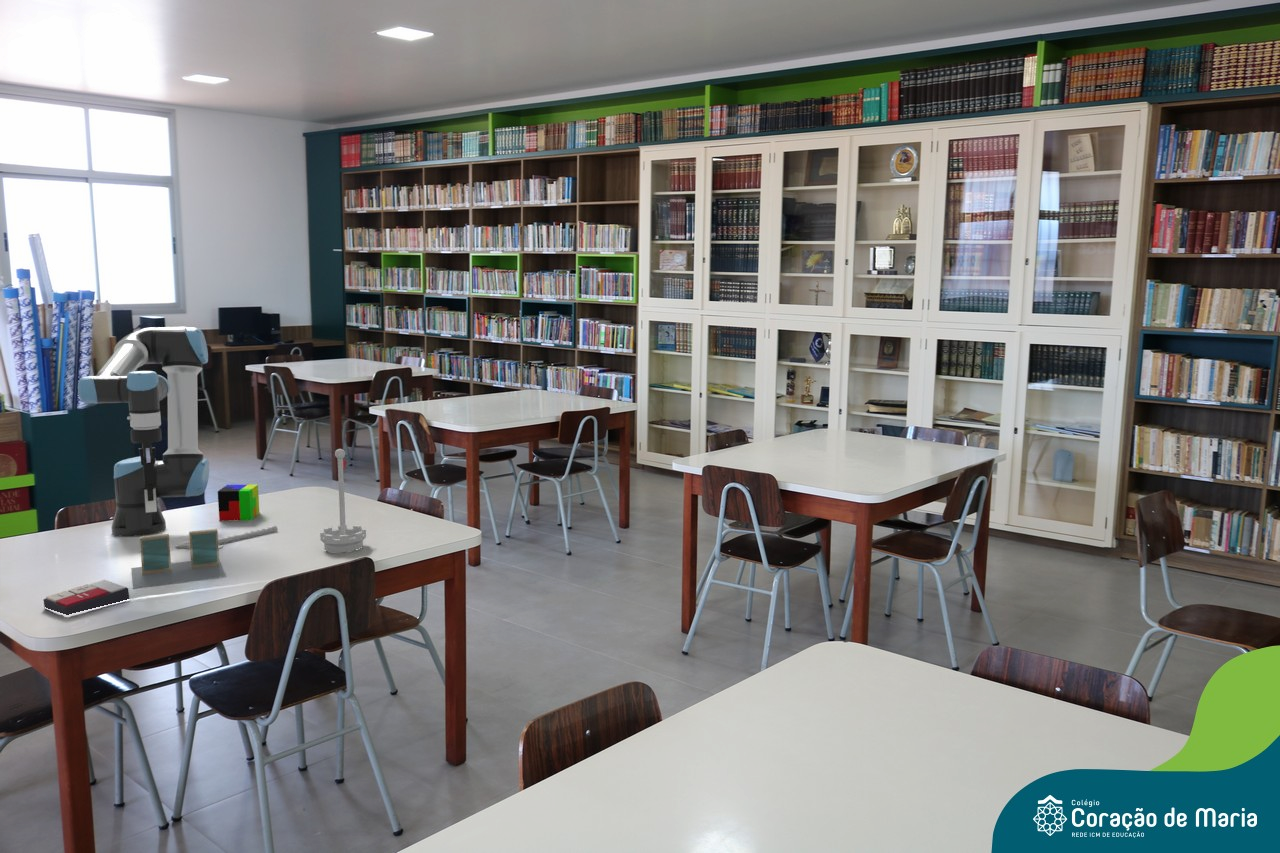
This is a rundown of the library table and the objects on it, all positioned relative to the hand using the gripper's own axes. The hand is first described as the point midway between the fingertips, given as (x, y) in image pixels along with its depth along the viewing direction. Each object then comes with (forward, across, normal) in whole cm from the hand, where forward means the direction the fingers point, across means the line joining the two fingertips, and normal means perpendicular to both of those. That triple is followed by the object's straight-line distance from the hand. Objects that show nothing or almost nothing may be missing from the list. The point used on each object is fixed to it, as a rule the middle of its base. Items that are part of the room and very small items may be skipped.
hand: (151, 511), depth 263 cm
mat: (+15, +14, +5) cm, 21 cm away
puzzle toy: (+15, -46, +27) cm, 55 cm away
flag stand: (+15, +8, +50) cm, 53 cm away
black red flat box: (+16, +30, -16) cm, 37 cm away
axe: (+16, -15, +22) cm, 30 cm away
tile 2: (+15, +10, +12) cm, 22 cm away
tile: (+15, +10, 0) cm, 18 cm away
